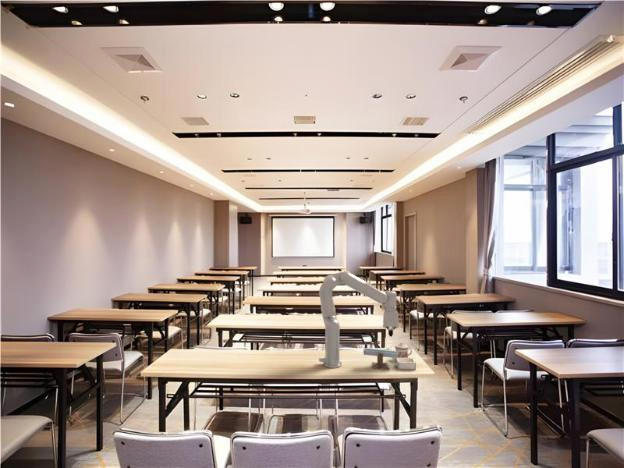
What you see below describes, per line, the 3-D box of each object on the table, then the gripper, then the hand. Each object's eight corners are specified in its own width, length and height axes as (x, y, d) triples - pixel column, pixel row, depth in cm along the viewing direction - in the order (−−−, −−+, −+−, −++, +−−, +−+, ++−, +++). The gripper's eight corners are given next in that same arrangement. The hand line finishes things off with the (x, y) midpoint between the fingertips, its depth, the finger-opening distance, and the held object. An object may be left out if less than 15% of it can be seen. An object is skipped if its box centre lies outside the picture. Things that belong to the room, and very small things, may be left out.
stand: (373, 369, 239) (373, 354, 239) (372, 363, 250) (371, 349, 250) (388, 369, 238) (388, 354, 238) (386, 363, 249) (386, 349, 249)
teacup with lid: (397, 361, 253) (397, 344, 253) (393, 357, 262) (393, 341, 262) (414, 360, 254) (414, 344, 254) (409, 356, 263) (409, 340, 263)
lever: (363, 354, 242) (364, 350, 242) (362, 348, 255) (363, 344, 255) (397, 358, 240) (397, 353, 240) (394, 352, 253) (395, 348, 253)
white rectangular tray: (398, 369, 238) (398, 362, 238) (396, 364, 247) (396, 357, 247) (415, 369, 237) (415, 362, 237) (413, 364, 246) (413, 358, 246)
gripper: (380, 310, 246) (380, 337, 246) (402, 310, 245) (402, 337, 245) (379, 308, 254) (379, 334, 254) (401, 308, 252) (401, 334, 252)
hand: (390, 336), depth 249 cm, fingers closed
